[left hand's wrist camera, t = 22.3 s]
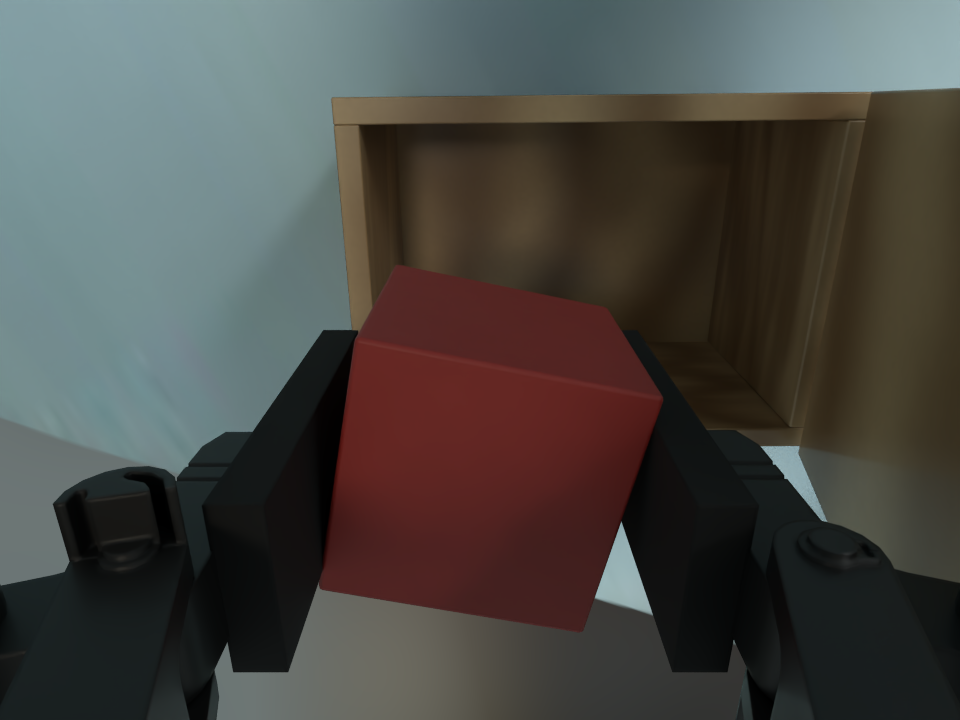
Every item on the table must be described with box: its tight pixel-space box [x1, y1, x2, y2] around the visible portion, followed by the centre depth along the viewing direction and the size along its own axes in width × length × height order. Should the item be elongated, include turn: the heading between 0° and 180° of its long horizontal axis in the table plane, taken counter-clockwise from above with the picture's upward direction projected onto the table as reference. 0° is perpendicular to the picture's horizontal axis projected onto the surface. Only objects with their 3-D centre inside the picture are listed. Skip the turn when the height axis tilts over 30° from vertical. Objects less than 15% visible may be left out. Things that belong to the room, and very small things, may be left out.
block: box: [319, 265, 663, 632], centre depth 12 cm, size 5×5×5 cm
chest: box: [331, 92, 872, 446], centre depth 26 cm, size 17×12×10 cm
